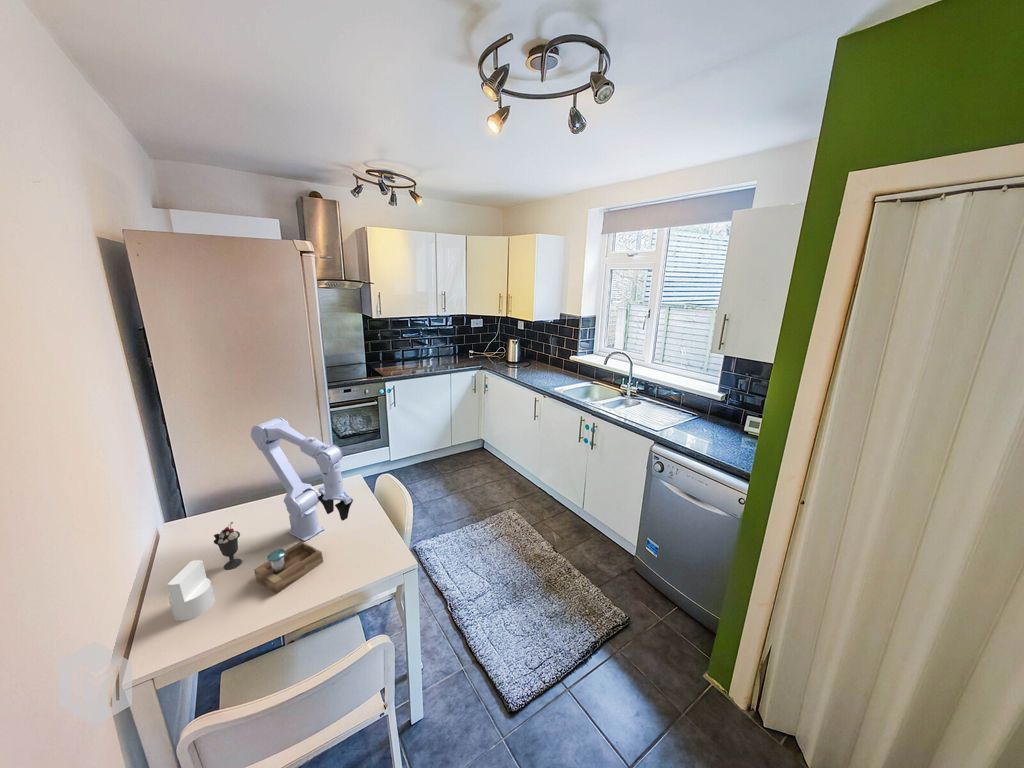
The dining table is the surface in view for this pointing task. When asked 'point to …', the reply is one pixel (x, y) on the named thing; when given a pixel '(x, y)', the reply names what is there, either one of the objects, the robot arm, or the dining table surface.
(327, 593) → the dining table surface
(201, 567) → the base with upright slab
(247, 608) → the dining table surface
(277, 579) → the keyhole board
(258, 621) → the dining table surface
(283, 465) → the robot arm
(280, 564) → the peg
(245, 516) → the dining table surface
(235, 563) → the sundae
